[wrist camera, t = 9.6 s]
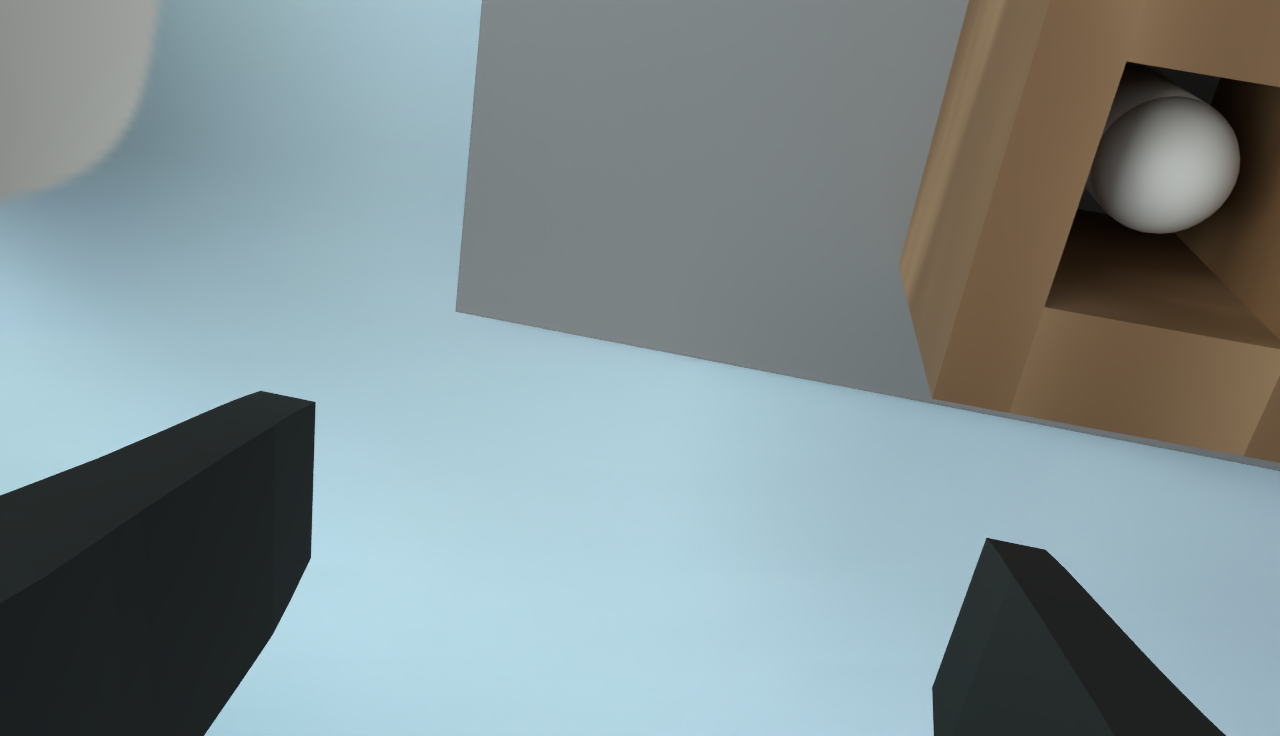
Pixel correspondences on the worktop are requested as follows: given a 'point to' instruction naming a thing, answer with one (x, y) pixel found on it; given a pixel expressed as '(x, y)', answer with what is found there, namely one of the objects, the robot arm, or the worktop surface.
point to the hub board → (761, 177)
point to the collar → (1099, 230)
